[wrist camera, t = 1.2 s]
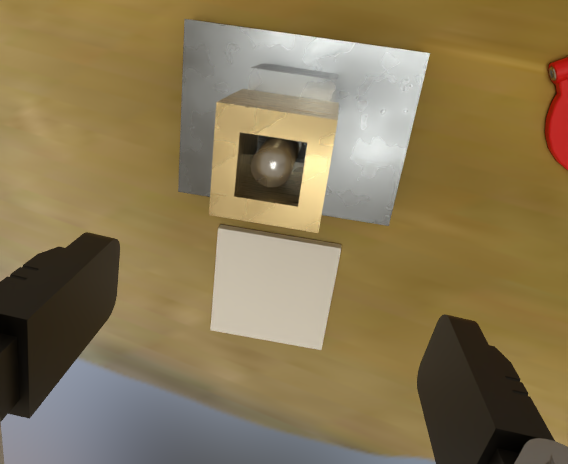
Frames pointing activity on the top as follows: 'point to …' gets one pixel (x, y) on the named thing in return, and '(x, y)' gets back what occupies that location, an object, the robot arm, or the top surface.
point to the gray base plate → (314, 85)
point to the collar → (243, 146)
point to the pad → (273, 286)
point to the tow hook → (558, 113)
